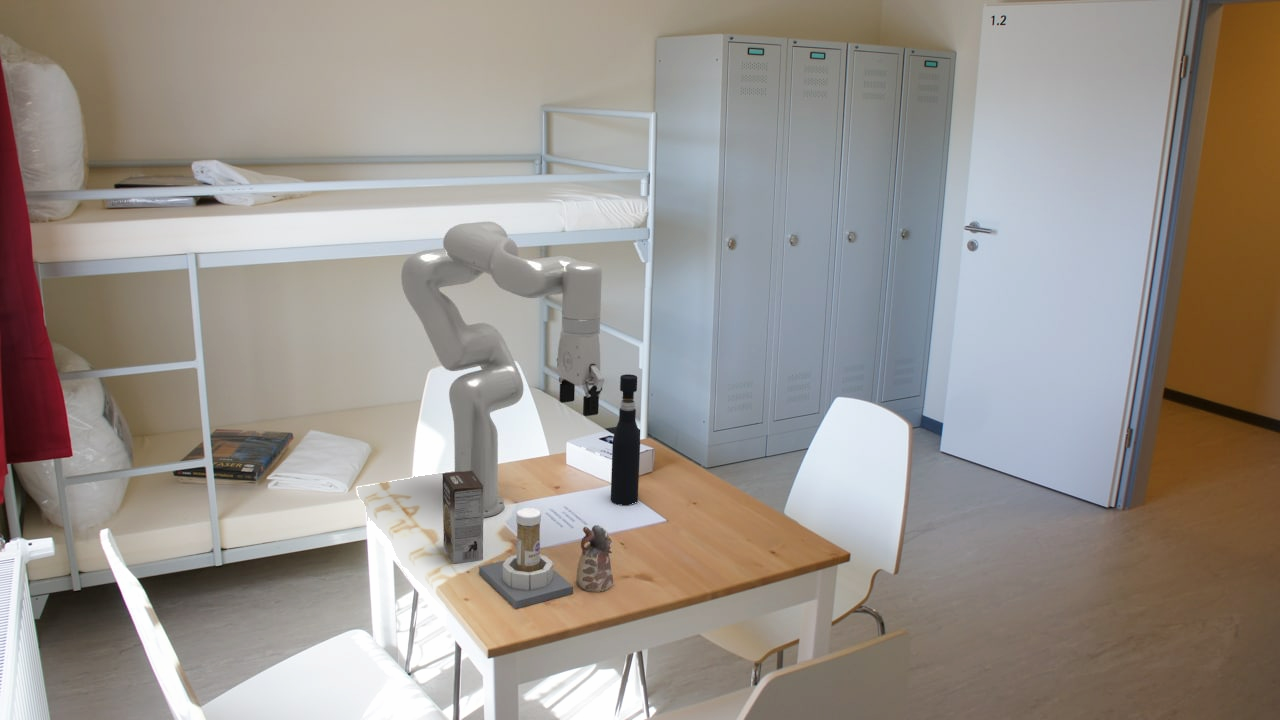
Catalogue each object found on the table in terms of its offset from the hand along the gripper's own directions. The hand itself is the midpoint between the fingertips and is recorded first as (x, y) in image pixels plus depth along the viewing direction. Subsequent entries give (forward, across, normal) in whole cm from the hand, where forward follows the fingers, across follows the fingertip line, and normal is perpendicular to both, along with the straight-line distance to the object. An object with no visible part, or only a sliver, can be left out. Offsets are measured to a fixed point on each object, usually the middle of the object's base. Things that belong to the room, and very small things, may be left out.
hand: (578, 408), depth 202 cm
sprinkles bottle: (+29, +11, -16) cm, 35 cm away
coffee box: (+30, -8, -22) cm, 38 cm away
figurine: (+30, +16, -5) cm, 35 cm away
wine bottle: (+30, -16, +22) cm, 41 cm away
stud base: (+30, +11, -16) cm, 36 cm away
